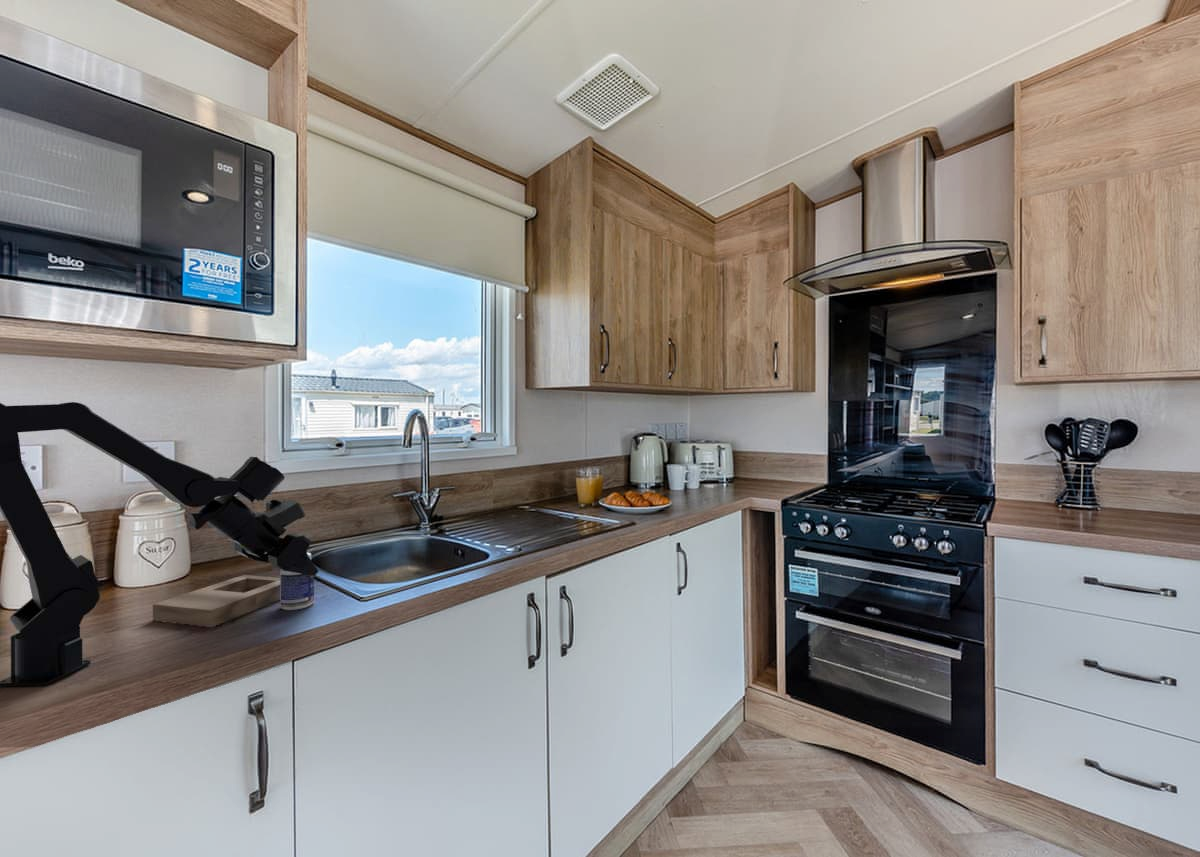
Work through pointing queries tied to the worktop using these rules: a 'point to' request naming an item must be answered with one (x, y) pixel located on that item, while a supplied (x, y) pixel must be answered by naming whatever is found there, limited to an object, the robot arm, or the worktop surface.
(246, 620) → the worktop surface
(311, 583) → the pill bottle
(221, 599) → the brown block with opening
